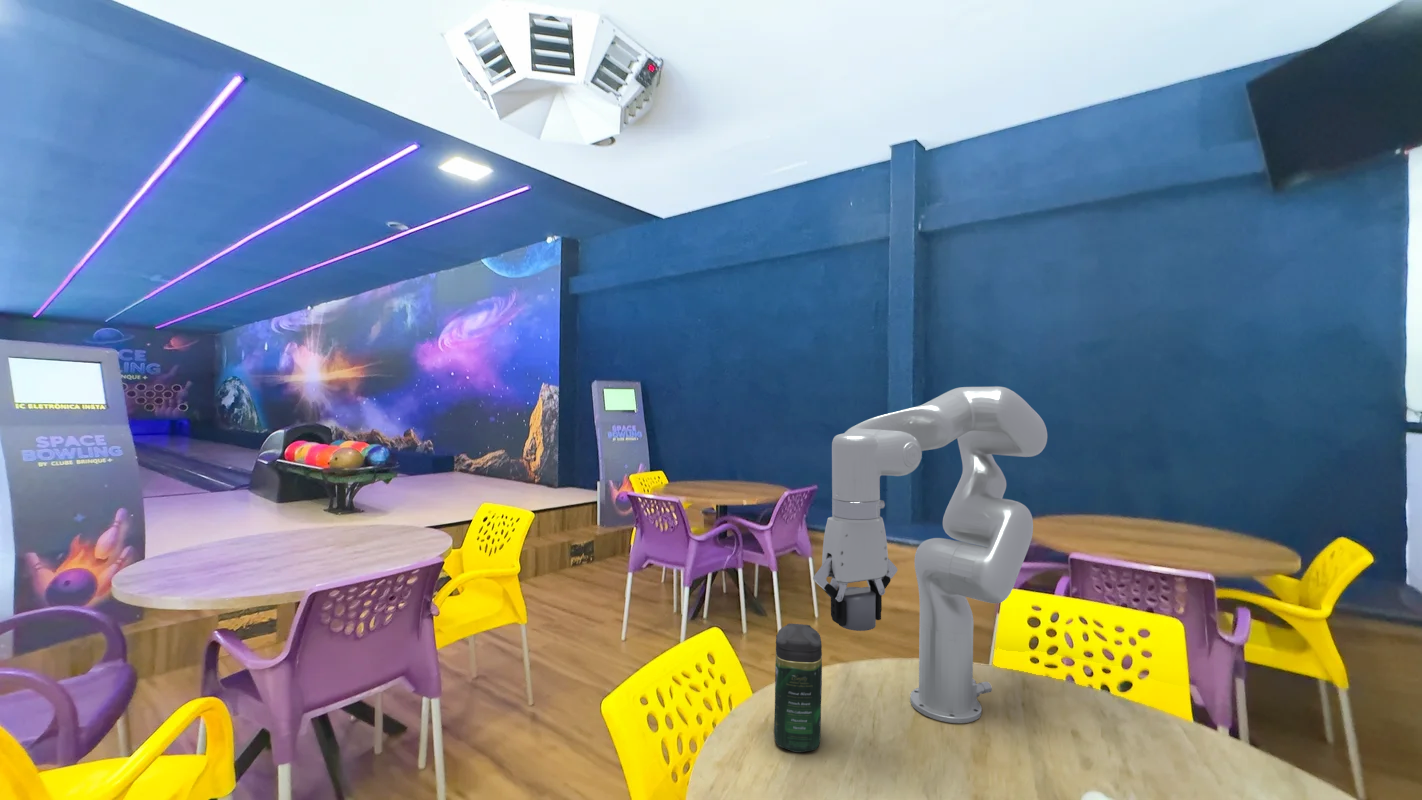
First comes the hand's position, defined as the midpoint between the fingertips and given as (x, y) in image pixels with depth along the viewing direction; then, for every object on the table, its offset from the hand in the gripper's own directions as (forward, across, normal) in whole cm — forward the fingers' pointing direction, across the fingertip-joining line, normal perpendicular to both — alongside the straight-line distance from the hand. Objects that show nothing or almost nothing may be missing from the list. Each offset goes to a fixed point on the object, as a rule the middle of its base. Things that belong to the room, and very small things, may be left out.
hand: (856, 619), depth 99 cm
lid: (+1, 0, 0) cm, 1 cm away
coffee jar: (+22, +7, -8) cm, 25 cm away
